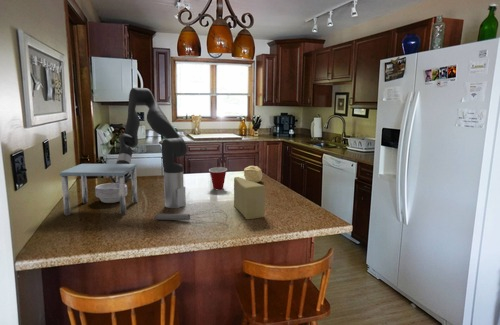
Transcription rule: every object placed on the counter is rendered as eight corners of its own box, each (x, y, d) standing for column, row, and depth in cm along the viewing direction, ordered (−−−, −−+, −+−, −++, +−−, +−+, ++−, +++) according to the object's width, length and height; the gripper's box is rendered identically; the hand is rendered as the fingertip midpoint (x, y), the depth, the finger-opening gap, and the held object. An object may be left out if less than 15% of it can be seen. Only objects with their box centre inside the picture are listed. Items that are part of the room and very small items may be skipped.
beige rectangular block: (226, 206, 168) (226, 177, 166) (243, 204, 172) (244, 175, 170) (245, 220, 149) (246, 186, 146) (265, 217, 153) (266, 184, 150)
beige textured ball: (242, 183, 219) (242, 166, 217) (247, 179, 230) (247, 163, 228) (259, 184, 216) (259, 167, 214) (264, 180, 227) (264, 164, 225)
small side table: (84, 201, 173) (81, 163, 170) (138, 201, 175) (136, 163, 172) (63, 215, 152) (59, 172, 148) (124, 215, 153) (122, 172, 150)
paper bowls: (132, 197, 182) (132, 182, 181) (118, 205, 167) (117, 189, 166) (106, 196, 184) (105, 181, 183) (89, 204, 169) (88, 188, 168)
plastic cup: (205, 189, 201) (205, 169, 199) (215, 185, 211) (215, 166, 209) (220, 191, 196) (220, 171, 194) (230, 187, 206) (230, 168, 204)
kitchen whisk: (155, 217, 152) (155, 203, 151) (229, 223, 146) (229, 209, 145) (149, 221, 146) (148, 207, 145) (225, 228, 140) (225, 213, 139)
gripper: (109, 159, 189) (102, 186, 180) (133, 159, 190) (128, 186, 180) (113, 167, 196) (106, 193, 186) (136, 167, 196) (131, 193, 186)
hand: (117, 189), depth 183 cm, fingers closed
